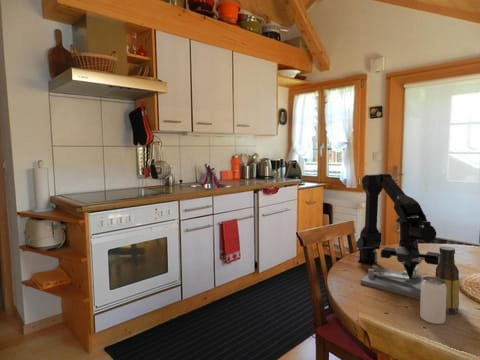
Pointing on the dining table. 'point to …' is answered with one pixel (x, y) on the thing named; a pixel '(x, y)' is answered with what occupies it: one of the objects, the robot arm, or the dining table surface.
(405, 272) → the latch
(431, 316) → the can
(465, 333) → the dining table surface
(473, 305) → the dining table surface
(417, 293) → the board
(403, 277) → the strap
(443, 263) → the sauce bottle
